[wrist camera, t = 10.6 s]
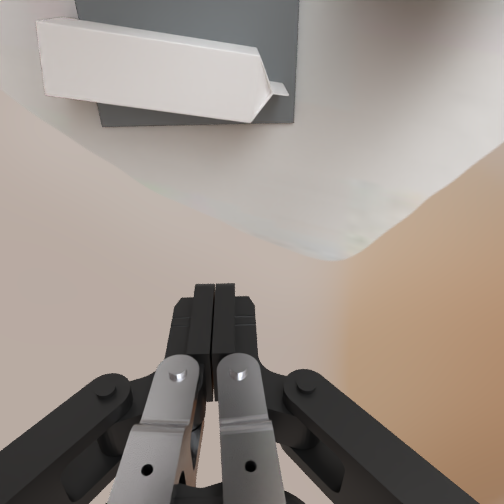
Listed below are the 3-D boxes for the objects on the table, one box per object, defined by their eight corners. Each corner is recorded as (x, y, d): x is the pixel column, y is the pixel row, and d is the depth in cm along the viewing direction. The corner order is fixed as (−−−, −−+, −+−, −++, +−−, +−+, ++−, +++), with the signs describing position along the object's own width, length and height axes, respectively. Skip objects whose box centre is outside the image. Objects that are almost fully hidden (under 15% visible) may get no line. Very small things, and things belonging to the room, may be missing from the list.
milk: (33, 20, 33) (296, 59, 35) (60, 16, 38) (288, 50, 40) (44, 97, 36) (283, 128, 38) (67, 84, 41) (278, 112, 43)
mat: (64, -58, 35) (62, -59, 35) (301, -60, 36) (302, -61, 35) (103, 125, 44) (102, 126, 43) (293, 121, 44) (293, 122, 44)
